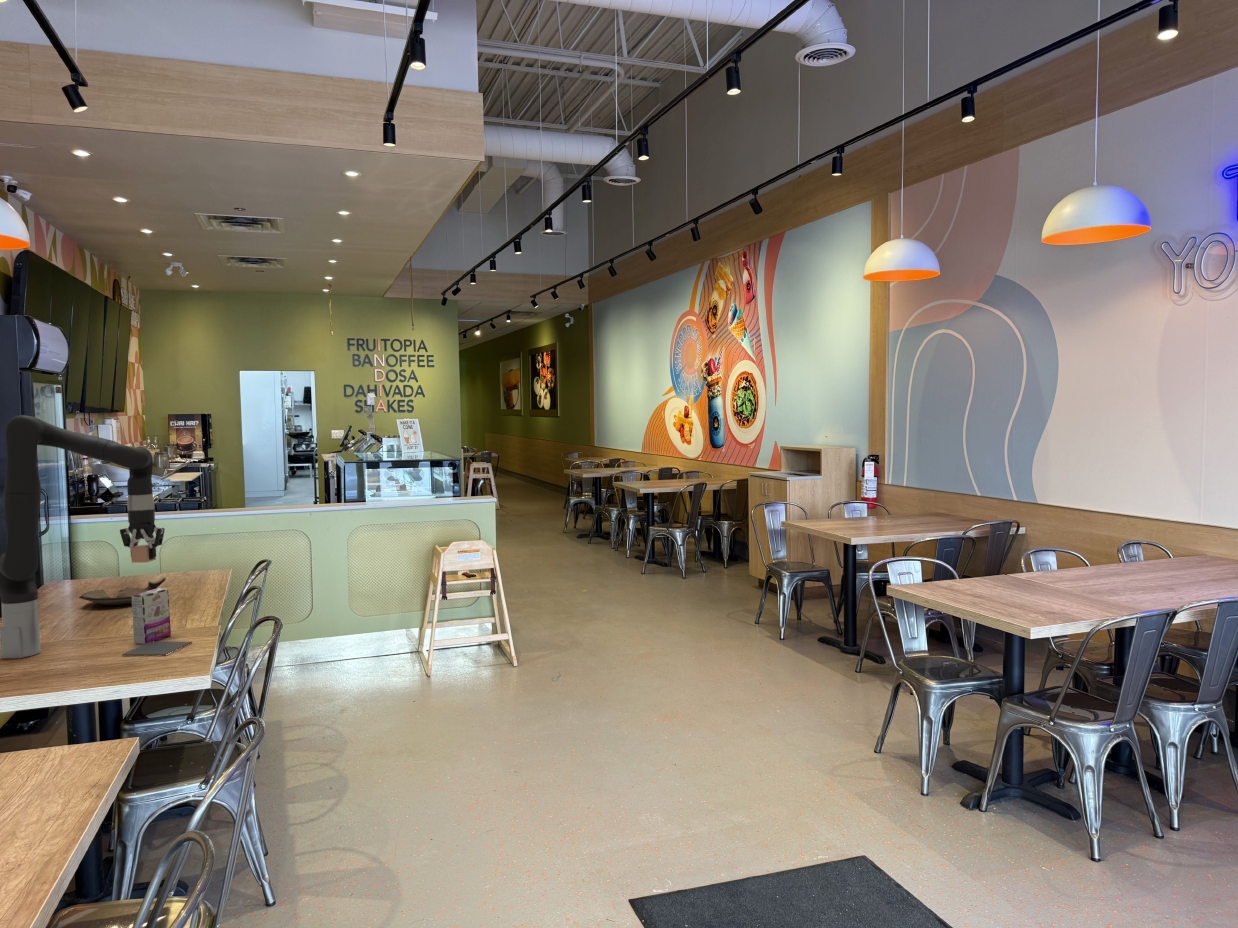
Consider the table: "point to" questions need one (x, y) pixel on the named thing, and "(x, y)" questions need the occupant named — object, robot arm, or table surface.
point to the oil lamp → (122, 596)
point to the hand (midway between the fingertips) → (143, 558)
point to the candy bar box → (151, 615)
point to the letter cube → (140, 554)
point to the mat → (156, 648)
